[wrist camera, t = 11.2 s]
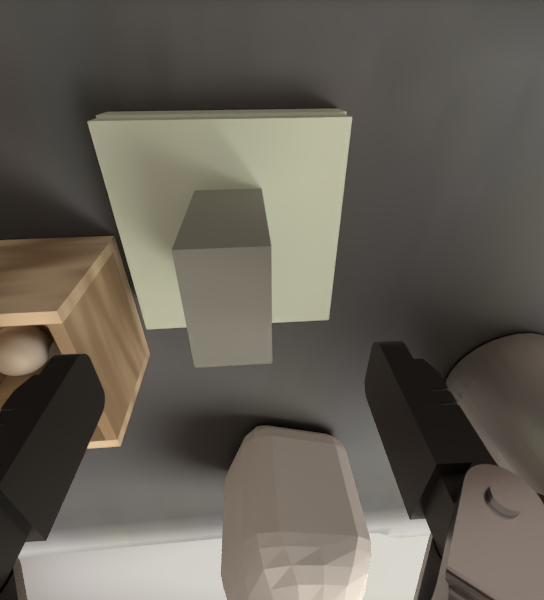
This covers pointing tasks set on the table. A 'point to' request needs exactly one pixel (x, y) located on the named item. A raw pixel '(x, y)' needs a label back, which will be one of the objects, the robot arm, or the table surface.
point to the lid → (227, 219)
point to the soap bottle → (293, 520)
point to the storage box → (72, 320)
